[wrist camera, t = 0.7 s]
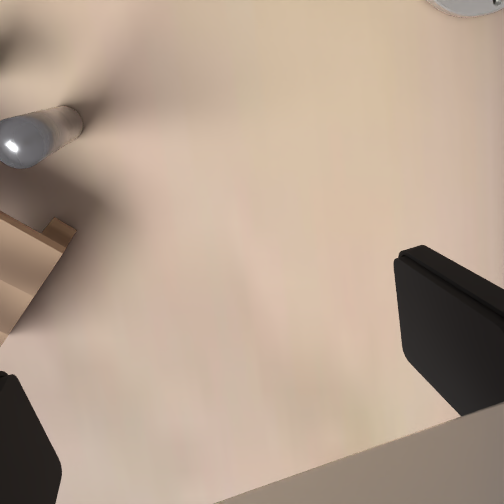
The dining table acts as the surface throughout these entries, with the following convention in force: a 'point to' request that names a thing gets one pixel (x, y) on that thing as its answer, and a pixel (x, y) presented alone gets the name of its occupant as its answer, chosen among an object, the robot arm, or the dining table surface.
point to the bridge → (26, 264)
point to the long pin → (37, 135)
